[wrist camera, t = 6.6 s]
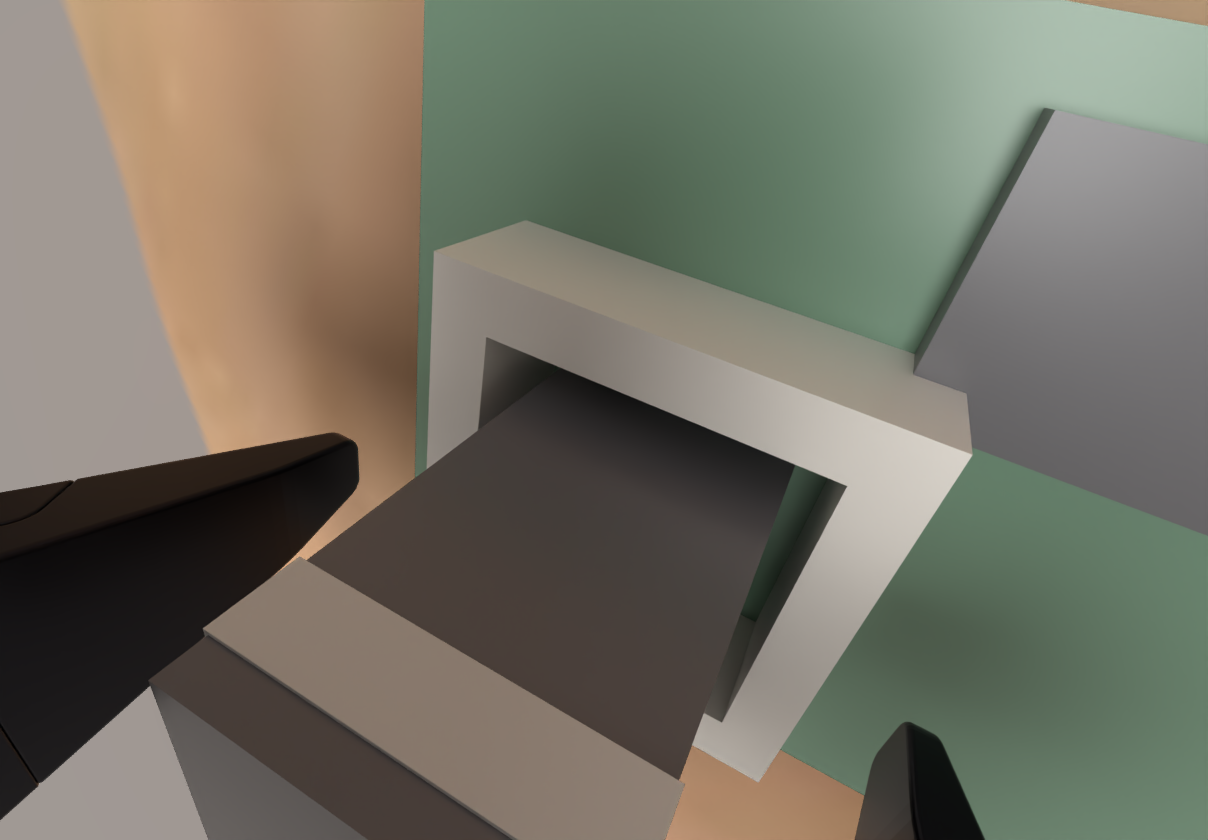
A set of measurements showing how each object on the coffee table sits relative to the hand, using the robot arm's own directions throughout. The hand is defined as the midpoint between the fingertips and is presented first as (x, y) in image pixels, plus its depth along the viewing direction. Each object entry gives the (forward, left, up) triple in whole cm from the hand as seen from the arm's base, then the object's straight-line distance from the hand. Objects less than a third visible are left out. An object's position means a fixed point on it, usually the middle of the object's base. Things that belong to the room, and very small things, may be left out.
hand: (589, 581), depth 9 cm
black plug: (0, 0, -3) cm, 3 cm away
